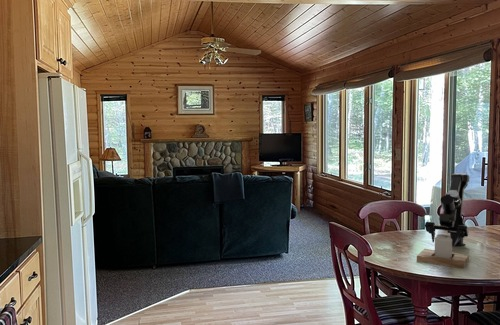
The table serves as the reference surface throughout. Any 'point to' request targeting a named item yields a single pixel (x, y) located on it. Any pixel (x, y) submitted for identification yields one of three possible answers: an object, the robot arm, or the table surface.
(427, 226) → the robot arm
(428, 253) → the pocket board
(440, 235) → the can
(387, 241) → the table surface
